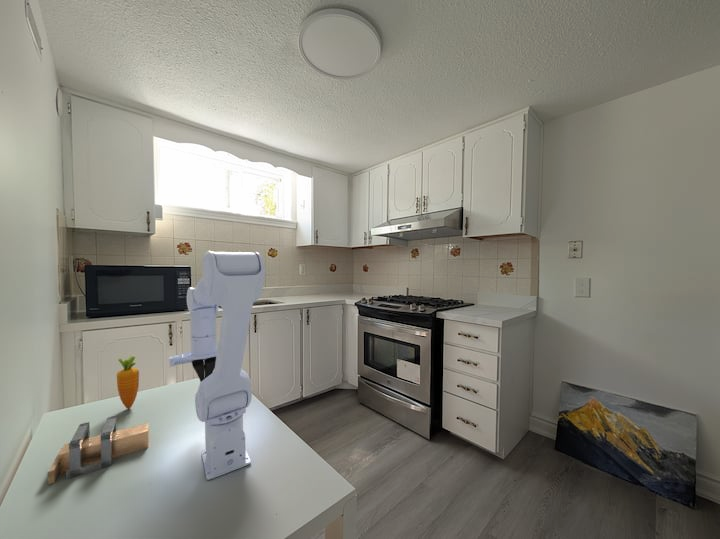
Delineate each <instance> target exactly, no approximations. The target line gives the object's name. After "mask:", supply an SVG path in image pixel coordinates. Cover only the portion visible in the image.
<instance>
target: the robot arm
mask: <svg viewBox="0 0 720 539" xmlns="http://www.w3.org/2000/svg"><path fill="white" fill-rule="evenodd" d="M201 260H202V261H201V275H202V276H201V278H200V279H199V280H198V282H197V284H196V285H195V287H193V286H192V287H191V286H190V287H188V289H187V291H186V292H187V293H186V305H187V309H188V311H189V315H190V316H189V317H190V318H189V319H190V321H189V322H190V323H189V324H190V325H189V326H190V352H185V353H181V354H178V355H172V356H169V368H172V367H175V366H177V365H183V364H190V363H191V365H192V368H193V369H194V371H195V373H196V374H197V378H198V379H199V381H200V382H199V385H198V388H197V392H196V393H195V396H194V398H195V399H194V402H195V403H194V404H195V405H194V406H195V414H196V416H197V417H196V418H197V420H199V422H202V423H204V431H205V432H204V434H205V435H204V439H205V440H204V442H205V443H204V444H205V446H204V447H205V450H202V451H201V456H202V461H203V462H202V463H203V468H204V472H205V477H206V478H205V479H206V480H207V481H209V480H213V479H215V478H218V477H220V476H223V475H225V474H228V473H230V472H233V471H235V470H239V469H240V468H241V469H242V468H243V467H245V466H248V465H250V464H251V462H252V461H251V458H250V456H249V454H248V451H247V448H246V434H245V431H244V414H246V413H247V409H246V408H249V406H250V404H251V403H252V399H253V398H252V396H253V394H252V385H253V384H252V380H251V378H250V376H249V374H248V373H247V371H245V370H243V369H242V366H243V365H242V364H243V360H244V354H245V349H246V343H247V338H248V333H249V327H250V323H251V318H252V317H251V316H252V311H253V306H254V303H255V302H257V301H258V300H259V299H260V298H261V297H262V292H263V288H264V282H265V277H266V266H265V261H264V258H263V257H262V255H261V254H260V253H259V252H258V251H253V252H239V251H238V252H234V251H233V252H232V251H231V252H230V251H228V252H227V251H212V250H207V251H206V252H205V254H204V255H203V256H202V259H201ZM219 307H221V310H222V312H221V313H222V314H221V322H220V327H219V335H218V343H217V316H219Z"/></svg>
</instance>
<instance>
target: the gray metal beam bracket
mask: <svg viewBox="0 0 720 539" xmlns="http://www.w3.org/2000/svg"><path fill="white" fill-rule="evenodd" d="M117 426H118V425H117V415H114V416H109V417H107V419H106V421H105V424H104V426H103V429H102V432H101V434H100V435H101V460H97V461H94V462H91V463H87V464H84V465H82V441H83V439H87V438H91V432H90V431H91V430H90V429H91V428H90V421H88V422H83V423H80V424H79V425H78V427H77V429H76V431H75V432H74V435H73V436H72V438H71V440H70V442H69V443H70V444H69V462H70V469H68V470H67V471H66V472H65V476H66V477H65V480H69V479H72V478H76V477H78V476H81V475H84V474H87V473H91V472H94V471H97V470H100V469H104V468H107V467H110V466H112V464H113V458H112V433H113V432H114V431H118V427H117Z"/></svg>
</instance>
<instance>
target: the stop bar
mask: <svg viewBox="0 0 720 539" xmlns="http://www.w3.org/2000/svg"><path fill="white" fill-rule="evenodd" d="M62 448H63V447H61V448H60V450H59V452H58V453H57V455H56V457H55V459H54V460H53V462H52V464H51V465H50V468H49V469H48V470H47V485H49V486H50V485H51V484H55V482H56V480H57V479H58V476H59V475H60V474H59V454H60V452H61V450H62Z"/></svg>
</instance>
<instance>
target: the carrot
mask: <svg viewBox="0 0 720 539" xmlns="http://www.w3.org/2000/svg"><path fill="white" fill-rule="evenodd" d="M135 359H136V356H135V355H131V356H130V357H128V359H127V358H126V359H124V360H123V359H122V358H121V357H120V358H118V362H119V363H120V364H121V366H122V369H121V370H119V371H118V372H117V373H116V384H117V392H118V395H119V398H120V401H121V403H122V404H123V406H124V407H125V409H127V410H129V409H131V408H132V406H133V405H134V402H135V401H136V398H137V395H138V391H139V385H140V371H139V369H137V368H136V367H134V365H136V364H137V362H136V361H135V362H134V360H135Z"/></svg>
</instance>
